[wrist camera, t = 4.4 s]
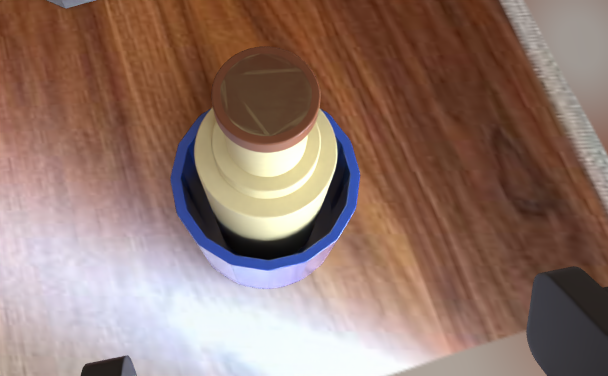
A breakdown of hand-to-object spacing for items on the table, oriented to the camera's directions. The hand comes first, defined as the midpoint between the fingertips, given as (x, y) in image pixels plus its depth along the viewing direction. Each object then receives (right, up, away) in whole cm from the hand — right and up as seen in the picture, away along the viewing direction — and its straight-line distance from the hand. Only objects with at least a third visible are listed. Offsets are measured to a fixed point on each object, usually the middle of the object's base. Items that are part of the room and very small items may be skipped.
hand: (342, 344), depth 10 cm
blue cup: (-3, +1, +23) cm, 23 cm away
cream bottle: (-3, +2, +22) cm, 23 cm away
